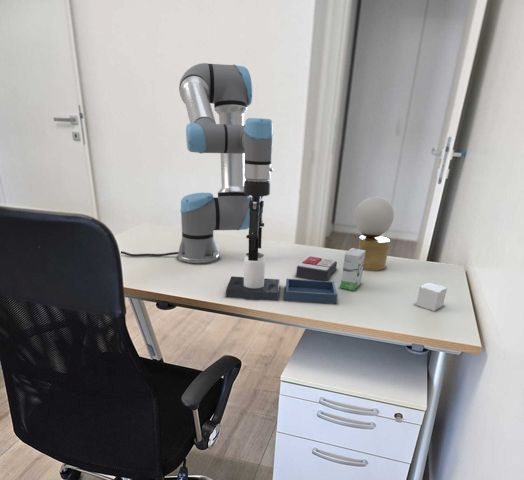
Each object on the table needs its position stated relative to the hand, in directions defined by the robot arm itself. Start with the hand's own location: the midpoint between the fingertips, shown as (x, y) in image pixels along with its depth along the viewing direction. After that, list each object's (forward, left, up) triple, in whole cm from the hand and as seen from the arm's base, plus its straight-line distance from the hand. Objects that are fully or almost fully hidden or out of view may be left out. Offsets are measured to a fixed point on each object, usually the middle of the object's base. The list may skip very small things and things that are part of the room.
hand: (255, 253), depth 134 cm
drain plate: (0, 0, -12) cm, 12 cm away
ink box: (+32, +11, -13) cm, 36 cm away
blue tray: (+18, 0, -12) cm, 22 cm away
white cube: (+55, -2, -13) cm, 56 cm away
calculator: (+21, +22, -13) cm, 33 cm away
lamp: (+41, +36, -13) cm, 56 cm away
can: (0, 0, -13) cm, 13 cm away
